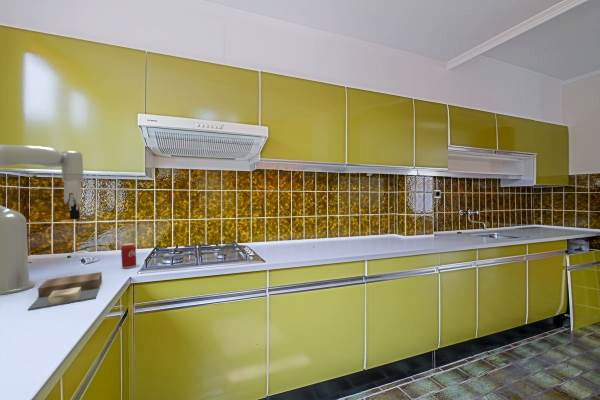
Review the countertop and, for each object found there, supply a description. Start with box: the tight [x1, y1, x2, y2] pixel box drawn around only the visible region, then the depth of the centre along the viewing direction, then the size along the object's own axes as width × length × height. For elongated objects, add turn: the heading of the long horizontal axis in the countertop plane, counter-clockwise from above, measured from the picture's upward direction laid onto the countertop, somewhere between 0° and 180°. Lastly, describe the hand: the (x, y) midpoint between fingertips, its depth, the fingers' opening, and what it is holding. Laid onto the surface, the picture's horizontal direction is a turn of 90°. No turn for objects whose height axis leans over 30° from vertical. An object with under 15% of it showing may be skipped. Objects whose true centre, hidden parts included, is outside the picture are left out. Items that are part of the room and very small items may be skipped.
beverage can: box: [120, 242, 137, 269], centre depth 144 cm, size 6×6×12 cm
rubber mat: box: [27, 288, 100, 312], centre depth 102 cm, size 18×11×1 cm, turn 121°
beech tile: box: [48, 287, 81, 304], centre depth 101 cm, size 8×7×2 cm
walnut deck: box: [37, 271, 103, 298], centre depth 112 cm, size 18×12×4 cm, turn 121°
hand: (75, 219), depth 127 cm, fingers closed
